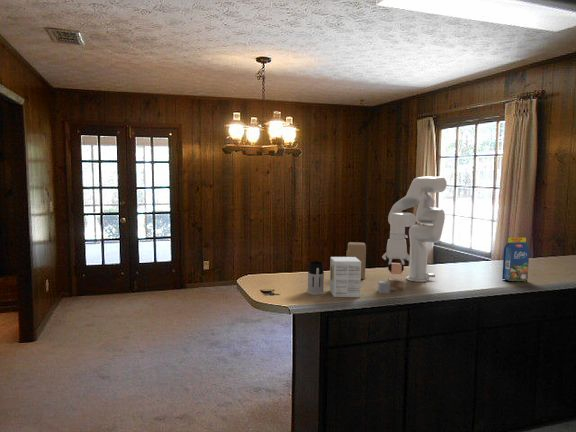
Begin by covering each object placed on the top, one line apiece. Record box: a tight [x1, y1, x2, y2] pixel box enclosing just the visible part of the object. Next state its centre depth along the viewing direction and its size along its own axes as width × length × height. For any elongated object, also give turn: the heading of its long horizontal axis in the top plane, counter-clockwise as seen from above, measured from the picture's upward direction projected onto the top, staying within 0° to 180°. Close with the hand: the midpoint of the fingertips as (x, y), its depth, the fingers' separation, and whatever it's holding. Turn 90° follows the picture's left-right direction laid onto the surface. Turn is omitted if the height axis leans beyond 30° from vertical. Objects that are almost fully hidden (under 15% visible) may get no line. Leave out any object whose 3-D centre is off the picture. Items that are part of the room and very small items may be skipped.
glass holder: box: [306, 260, 325, 296], centre depth 220 cm, size 9×14×15 cm, turn 2°
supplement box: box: [329, 256, 362, 298], centre depth 221 cm, size 13×13×18 cm
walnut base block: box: [387, 277, 404, 291], centre depth 234 cm, size 7×7×5 cm
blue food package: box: [501, 237, 530, 282], centre depth 257 cm, size 6×12×25 cm, turn 104°
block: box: [346, 241, 367, 280], centre depth 259 cm, size 10×10×20 cm
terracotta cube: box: [389, 262, 403, 275], centre depth 233 cm, size 5×5×5 cm
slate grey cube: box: [377, 280, 391, 294], centre depth 227 cm, size 5×5×5 cm
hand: (395, 271), depth 233 cm, fingers closed on terracotta cube, 5 cm apart
